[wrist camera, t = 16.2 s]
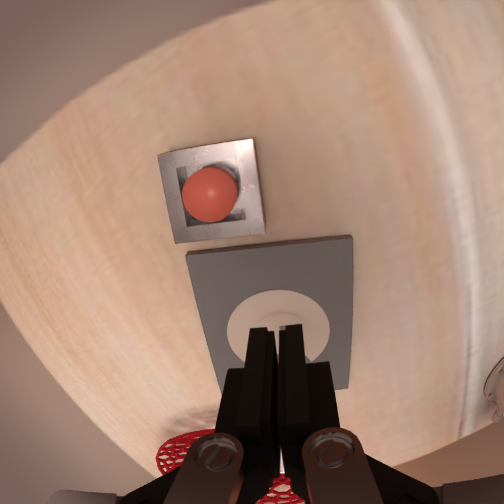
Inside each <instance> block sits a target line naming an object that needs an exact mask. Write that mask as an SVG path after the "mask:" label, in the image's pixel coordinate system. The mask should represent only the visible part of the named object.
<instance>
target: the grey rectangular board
mask: <svg viewBox="0 0 504 504" xmlns="http://www.w3.org/2000/svg"><path fill="white" fill-rule="evenodd" d="M185 256H186V261H187V265H188V269H189V274H190V278H191V282H192V286H193V291H194V295H195V299H196V303H197V307H198V311H199V315H200V318H201V322H202V326H203V330H204V334H205V337H206V341H207V345H208V349H209V352H210V356H211V359H212V363H213V366H214V370H215V373H216V377H217V380H218V384H219V387H220V390H221V394H222V393H223V388H224V383H225V379H226V374H227V370H228V369H229V368H244V364H245V358H246V351H247V344H248V337H249V330H250V328H255V326H256V324H257V323H258V322H259V321H260V320H261V319H262V318H264V317H265V316H267V315H270V314H273V313H279V312H285V313H291V314H294V315H296V316H298V317H300V318H301V319H302V320H304V322H305V323H306V324H307V326H308V328H309V332H310V340H309V346H308V353H309V358H310V360H311V363H315V362H325V361H329V363H330V367H331V373H332V379H333V385H334V390H340V389H347V388H348V384H349V372H350V357H351V340H352V317H353V238H352V236H351V235H344V236H334V237H324V238H314V239H304V240H294V241H285V242H275V243H266V244H256V245H246V246H237V247H228V248H218V249H209V250H200V251H190V252H187V254H186V255H185Z"/></svg>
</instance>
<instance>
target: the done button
mask: <svg viewBox="0 0 504 504" xmlns="http://www.w3.org/2000/svg"><path fill="white" fill-rule="evenodd" d="M239 192H240V186H239V181H238V179H237V177H236V175H235V174H234V173H233V172H232V171H231V170H230V169H228V168H227V167H225V166H222V165H216V164H214V165H208V166H205V167H203V168H201V169H200V170H198V171H197V172H195V173H193V174H192V175H191V176H190V177H189V178H188V179H187V181H186V182H185V184H184V187H183V191H182V198H183V203H184V206H185V208H186V209H187V211H188V212H189V213H190V214H191V215H192V216H193V217H194V218H196V219H198V220H200V221H203V222H216V221H220V220H222V219H224V218H225V217H226V216H228V215H229V214H230V212H231V211H232V210H233V208H234V206H235V203H236V201H237V199H238V197H239Z"/></svg>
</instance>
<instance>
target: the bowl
mask: <svg viewBox="0 0 504 504" xmlns="http://www.w3.org/2000/svg"><path fill="white" fill-rule="evenodd" d="M214 431H215V429H209V430H200V431H195V432H189V433H185V434H182V435H180V436H177V437H174V438H171V439H169V440H167V441H166V442H165V443H164V444H163V445H162V446H161V447H160V448H159V450H158V453H157V456H156V462H157V466H158V469H159V470H160V472H161V473H162V475H164V474H166V473H168V472H170V471H172V470H173V469H175V468H177V467H179V466H180V465H181V464H182V462H183V461H182V462H177V463H175V461H176V460H177V459H184V458H185V456H186V454H184V455H179V454H178V453H181V452H186V453H187V452H188V449H189V448H186V447H189V446H191V445H192V443H193V442H194V441H196V440H197V439H198V438H196V437H202V436H204V435H206V434H210V433H214ZM186 436H189V437H186ZM183 437H184V438H183ZM167 444H173V445H172V446H170V447H168V448H167V447H165V446H166V445H167ZM176 444H185V445H179V446H176ZM176 449H180V450H176ZM161 450H162V451H165V452H162V453H160V451H161ZM168 451H171V452H168ZM163 455H167V456H169V457H168V458H166V459H161V458H159V457H160V456H163ZM171 456H175V458H173V457H171ZM169 460H170V461H173V463H170V464H167V463H166V461H169ZM160 462H162V463H164V465H160ZM171 466H172V467H171ZM169 467H171V468H169ZM163 468H166V469H167V471H166V472H165V471H164V470H163ZM273 482H274V483H273V487H270V488H271V489H270V490H269V493H268V494H270V493H273V494H276V495H277V496H274V497H269V496H267V495H265V496H264V497H262V498H261V499H260V502H259V504H263V503H266V502H273V503H275V504H278V503H277V502H278V501H290V502H287V503H281V504H297V503H301V502H304V500H303V499H301V498H300V497H298V496H297V495H296V494H295V493H294V494H291V492H292V490H291V482H290V478H285V474H280V478H273ZM282 484H285V485H290V489H289V490H288V491H286V492H278V491H275V490H274V488H275V487H277V486H279V485H282ZM280 495H289V496H290V497H287V498H281V497H279V496H280ZM295 499H297V500H296V501H292V500H295Z"/></svg>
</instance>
